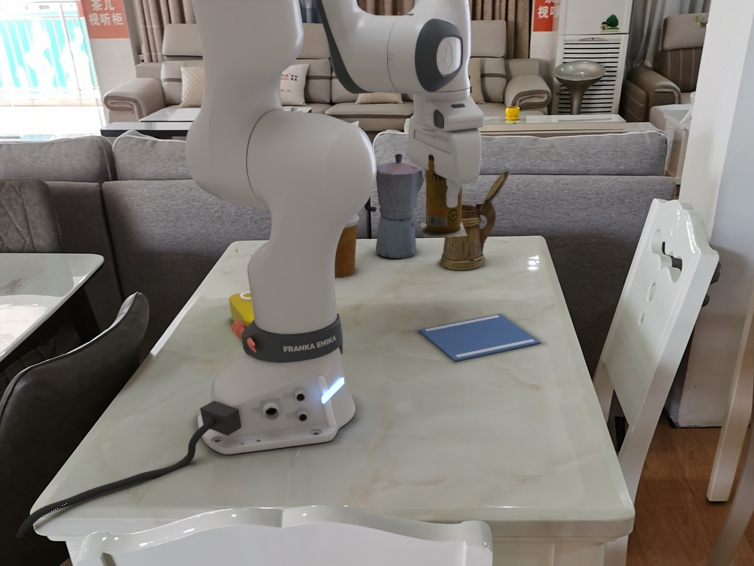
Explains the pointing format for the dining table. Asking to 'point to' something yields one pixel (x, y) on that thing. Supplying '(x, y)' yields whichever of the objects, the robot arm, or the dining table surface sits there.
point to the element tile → (241, 307)
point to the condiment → (440, 208)
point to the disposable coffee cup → (346, 249)
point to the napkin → (478, 337)
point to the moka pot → (397, 207)
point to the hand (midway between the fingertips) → (441, 201)
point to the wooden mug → (472, 232)
